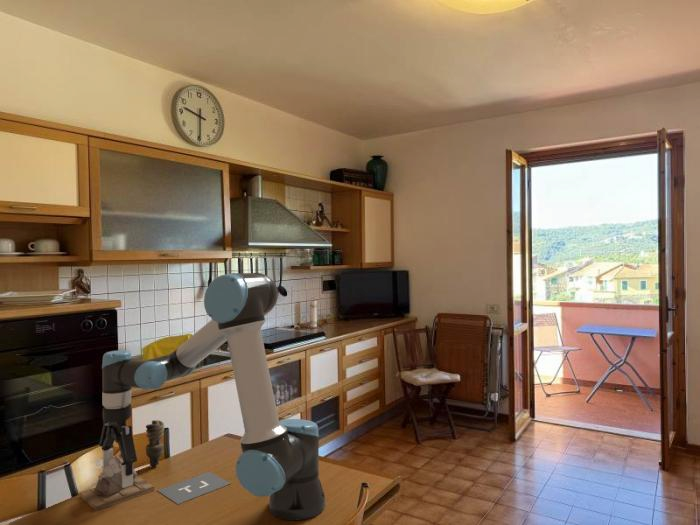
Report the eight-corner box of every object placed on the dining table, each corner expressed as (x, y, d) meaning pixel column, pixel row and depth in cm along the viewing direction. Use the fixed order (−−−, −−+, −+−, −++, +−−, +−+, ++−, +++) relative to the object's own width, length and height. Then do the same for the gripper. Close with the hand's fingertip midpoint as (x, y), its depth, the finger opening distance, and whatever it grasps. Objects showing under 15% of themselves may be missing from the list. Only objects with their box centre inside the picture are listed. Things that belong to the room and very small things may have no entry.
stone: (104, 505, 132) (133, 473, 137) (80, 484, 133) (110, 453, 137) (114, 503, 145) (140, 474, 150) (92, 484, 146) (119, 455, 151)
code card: (230, 483, 147) (230, 483, 147) (177, 504, 135) (177, 504, 135) (209, 472, 156) (209, 471, 156) (157, 490, 143) (157, 490, 143)
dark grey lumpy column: (157, 461, 164) (156, 417, 164) (168, 465, 161) (167, 419, 161) (142, 468, 159) (142, 421, 159) (153, 471, 156) (153, 424, 156)
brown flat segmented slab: (154, 490, 143) (154, 485, 143) (96, 511, 132) (96, 505, 132) (136, 478, 152) (136, 473, 152) (80, 496, 140) (80, 491, 140)
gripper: (149, 411, 136) (150, 487, 136) (113, 394, 153) (113, 462, 153) (122, 417, 130) (122, 497, 130) (87, 399, 147) (87, 470, 147)
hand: (117, 478), depth 142 cm, fingers open, 13 cm apart
